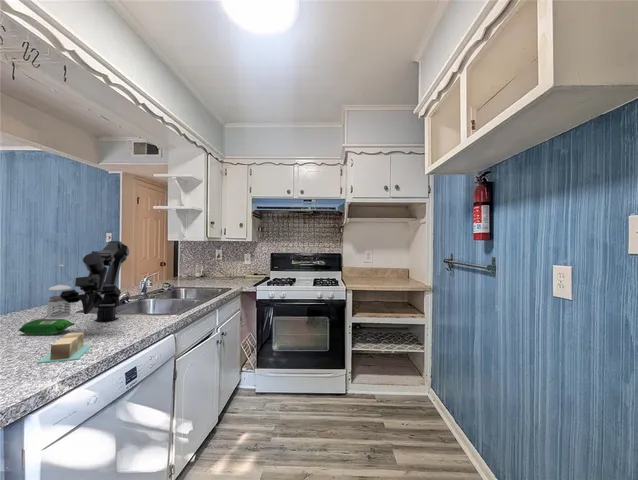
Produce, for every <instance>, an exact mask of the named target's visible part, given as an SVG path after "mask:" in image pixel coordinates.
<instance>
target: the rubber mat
mask: <svg viewBox="0 0 638 480" xmlns="http://www.w3.org/2000/svg"><path fill="white" fill-rule="evenodd" d="M92 347H93V344H92V345H91V344H89V345H83V346H82V347H81V348H80V349H78V350H77V351H76V352H75V353H74V354H73V355H72V356H71V357H69V358H67V359H56V360H50V355H51V351H50V352H49V353H48V354H46V355H45V356H44V357H42V358H41V359H40V360H38V361H37V362H36V363H37V364H47V363H58V362H57V361H59V362H67V361H66V360H70V361H78V360H80V357H81V356H82V355H83V354H84V353H85V352H86V353H87V352H89V349H91V348H92ZM86 353H85V354H86ZM83 356H84V355H83ZM83 356H82V357H83ZM82 357H81V358H82Z"/></svg>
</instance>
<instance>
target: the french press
mask: <svg viewBox="0 0 638 480" xmlns="http://www.w3.org/2000/svg"><path fill="white" fill-rule="evenodd" d="M58 268H60V273H62V270H63V268H65V265H64V264H59V265H58ZM59 280H60V281H59V282H60V284H58V285H53V286H51V287H49V288H48V291H51V292H58V291H59V292H62V291H66V290H72V286H69V285H66V284H62V279H59ZM75 304H76V302H74V303H68V302H66V301H65V300H63V299H62V298H61V297H60V295H53V296H50V297H49V300H47V316H46V317H44V319H65V320H68V319H70V318H72V317H73V316H72V314H71V307H72V306H74V305H75Z"/></svg>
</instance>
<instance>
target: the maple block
mask: <svg viewBox="0 0 638 480" xmlns="http://www.w3.org/2000/svg"><path fill="white" fill-rule="evenodd" d="M84 338H85V332H71V333H70V332H68V333H67V334H65V335H63V337H61V338H60V339H58V340H57V341H56V342H54V343H52V344H51V345H50V352H51V355H50V360H56V359H67V358H69V357H71V356H72V355H73V354H74V353H75V352H76V351H77V350H78V349H80V348H81V347H82V346H84V342H85V341H84Z"/></svg>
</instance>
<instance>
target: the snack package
mask: <svg viewBox="0 0 638 480" xmlns="http://www.w3.org/2000/svg"><path fill="white" fill-rule="evenodd" d="M72 326H75V322H72V321H70V320H68V319H45V318H39V319H33V320H31V321H28V322H26V323H24V324H23V325H22V326H21V327H20V328H19V329H18V330H17V331H18V332H21V333H23V334H24V335H26V336H48V335H51V336H52V335H57V334H60V333H61V332H63V331H65V330H67V329H68V328H69V327H72Z"/></svg>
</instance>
